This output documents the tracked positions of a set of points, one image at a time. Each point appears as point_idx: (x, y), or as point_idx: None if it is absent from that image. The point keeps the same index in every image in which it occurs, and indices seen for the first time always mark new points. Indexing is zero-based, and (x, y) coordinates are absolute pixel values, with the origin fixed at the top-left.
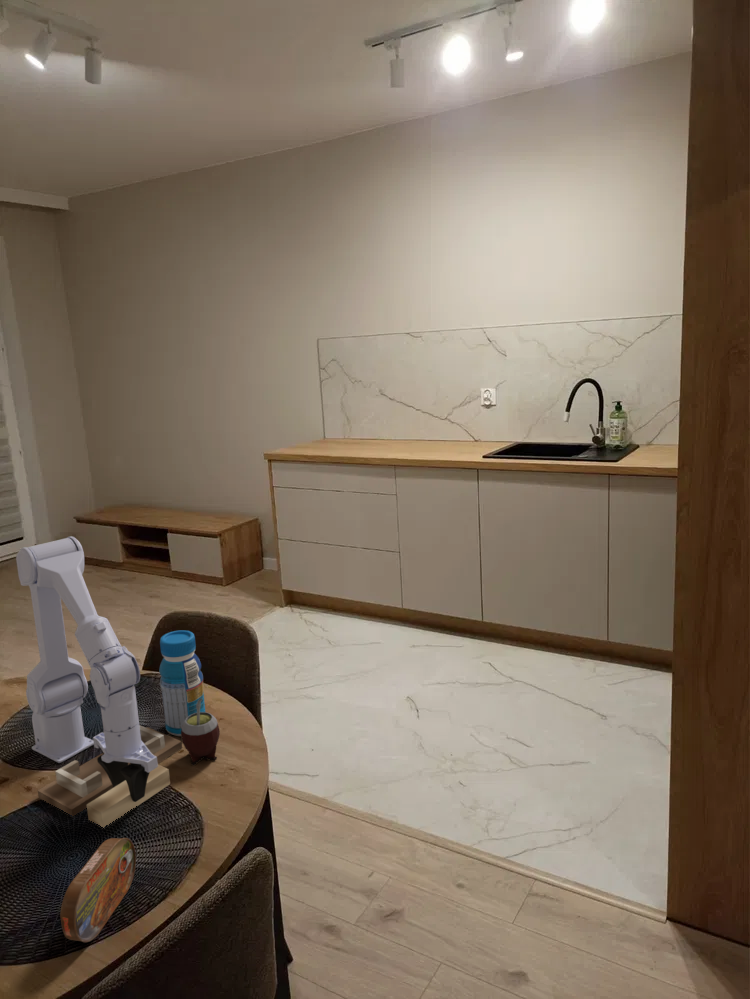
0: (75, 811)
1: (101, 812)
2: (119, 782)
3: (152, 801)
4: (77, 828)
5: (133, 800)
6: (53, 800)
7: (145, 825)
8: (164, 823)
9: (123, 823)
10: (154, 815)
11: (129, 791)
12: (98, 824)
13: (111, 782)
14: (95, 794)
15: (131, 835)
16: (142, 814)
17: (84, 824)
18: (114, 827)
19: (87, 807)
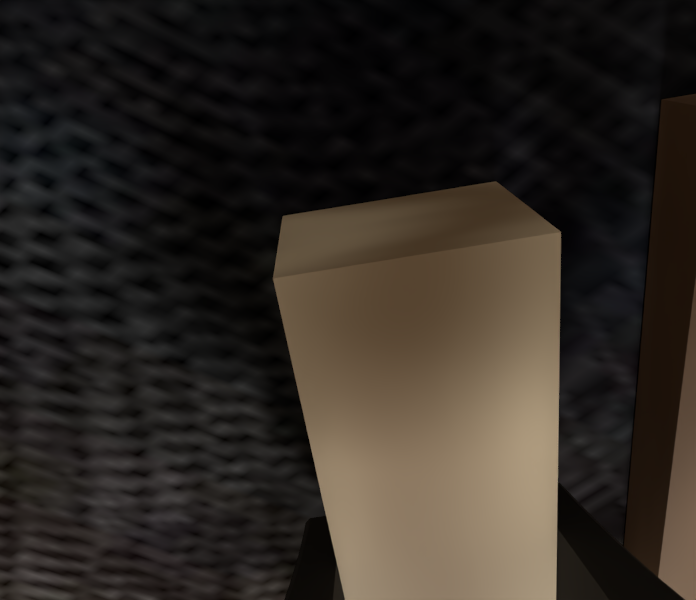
0: (682, 142)
1: (278, 282)
2: (564, 577)
3: None
4: (481, 52)
5: (320, 524)
6: None
7: (83, 439)
8: (16, 522)
9: (227, 350)
10: (151, 516)
11: (333, 592)
12: (354, 209)
13: (614, 547)
14: (687, 367)
15: (33, 326)
16: (223, 474)
17: (478, 128)
18: (232, 283)
19: (534, 223)
